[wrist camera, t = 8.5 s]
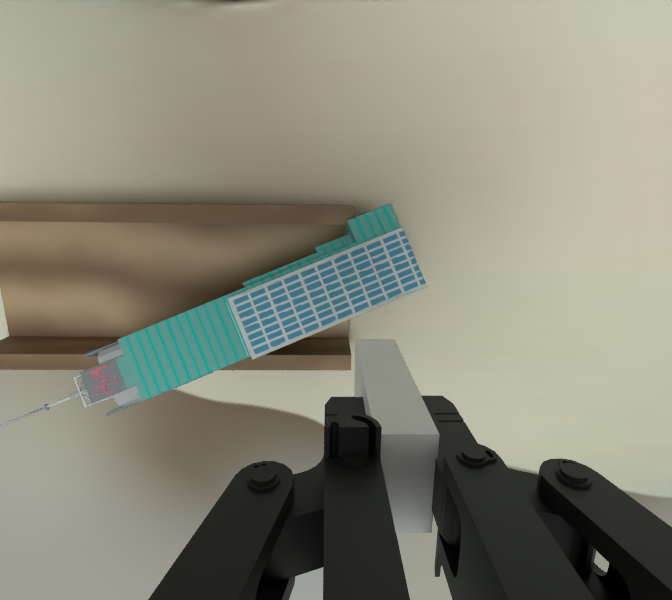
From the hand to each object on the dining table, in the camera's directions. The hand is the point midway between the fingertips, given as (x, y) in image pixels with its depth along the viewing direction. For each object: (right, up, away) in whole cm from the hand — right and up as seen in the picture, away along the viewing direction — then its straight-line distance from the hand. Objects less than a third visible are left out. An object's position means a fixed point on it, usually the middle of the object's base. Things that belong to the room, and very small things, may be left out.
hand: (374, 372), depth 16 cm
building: (+3, +6, +14) cm, 16 cm away
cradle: (-14, +5, +18) cm, 24 cm away
